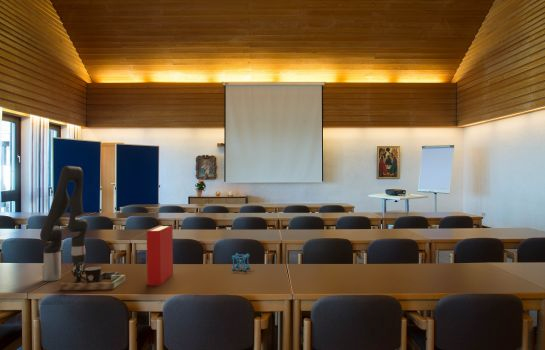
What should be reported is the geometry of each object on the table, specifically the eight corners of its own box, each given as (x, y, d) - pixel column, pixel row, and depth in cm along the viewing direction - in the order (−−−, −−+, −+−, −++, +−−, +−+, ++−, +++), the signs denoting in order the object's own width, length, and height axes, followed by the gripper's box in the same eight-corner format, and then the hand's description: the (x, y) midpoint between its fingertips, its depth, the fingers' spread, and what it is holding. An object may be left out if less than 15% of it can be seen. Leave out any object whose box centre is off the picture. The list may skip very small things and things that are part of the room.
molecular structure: (231, 270, 274) (231, 255, 274) (236, 267, 284) (236, 253, 284) (245, 271, 272) (245, 256, 272) (250, 268, 282) (249, 253, 282)
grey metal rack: (60, 289, 233) (60, 283, 233) (82, 277, 260) (82, 272, 260) (113, 289, 233) (113, 283, 233) (129, 277, 260) (129, 271, 260)
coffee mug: (104, 284, 244) (104, 267, 243) (92, 288, 236) (92, 270, 236) (90, 282, 248) (90, 265, 248) (78, 285, 241) (78, 268, 241)
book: (160, 273, 268) (160, 224, 268) (172, 273, 268) (172, 224, 267) (146, 285, 241) (145, 230, 240) (159, 285, 240) (159, 230, 240)
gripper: (77, 251, 248) (77, 279, 249) (66, 255, 235) (66, 285, 235) (89, 251, 248) (90, 279, 249) (79, 255, 235) (79, 285, 235)
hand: (78, 282), depth 242 cm, fingers closed
